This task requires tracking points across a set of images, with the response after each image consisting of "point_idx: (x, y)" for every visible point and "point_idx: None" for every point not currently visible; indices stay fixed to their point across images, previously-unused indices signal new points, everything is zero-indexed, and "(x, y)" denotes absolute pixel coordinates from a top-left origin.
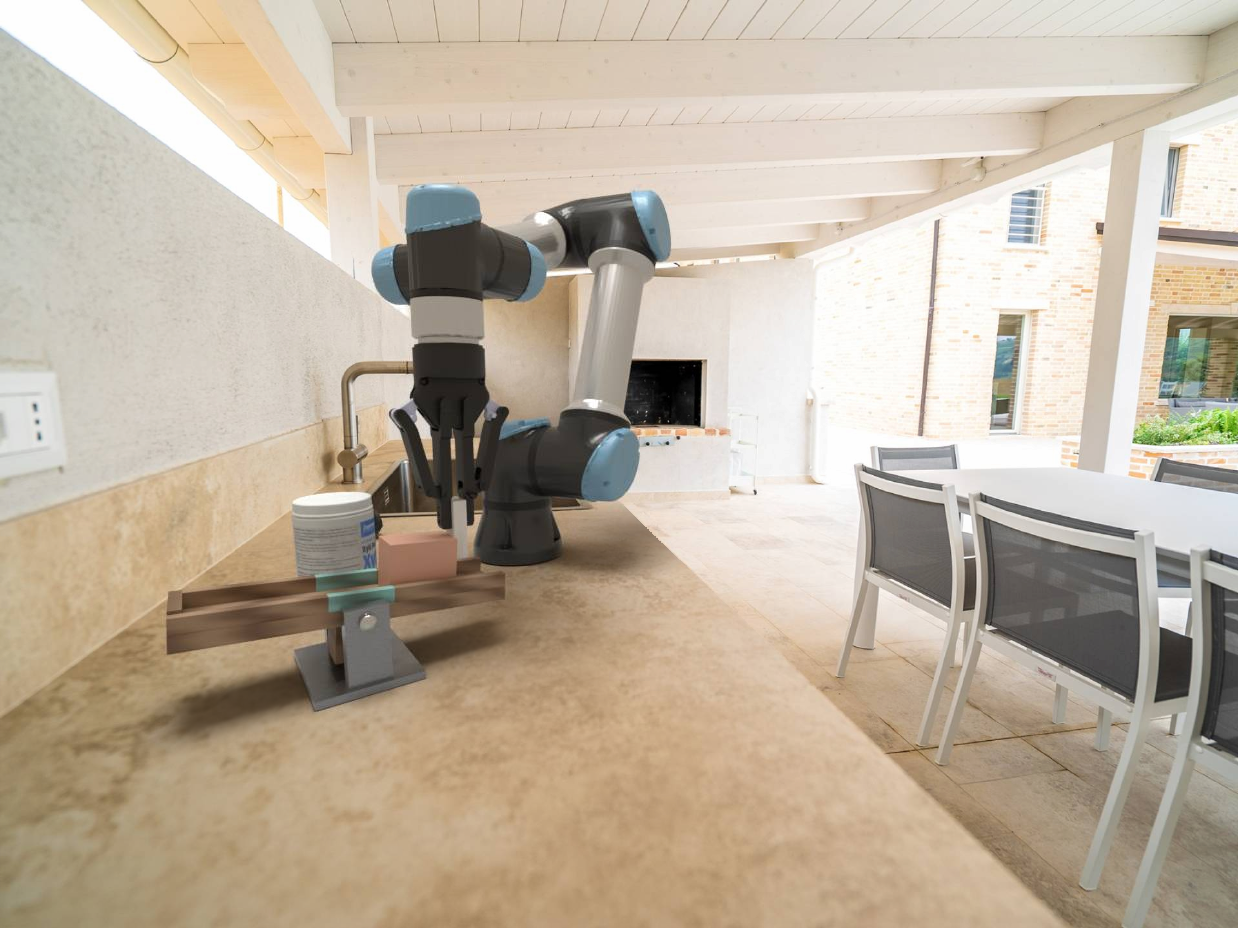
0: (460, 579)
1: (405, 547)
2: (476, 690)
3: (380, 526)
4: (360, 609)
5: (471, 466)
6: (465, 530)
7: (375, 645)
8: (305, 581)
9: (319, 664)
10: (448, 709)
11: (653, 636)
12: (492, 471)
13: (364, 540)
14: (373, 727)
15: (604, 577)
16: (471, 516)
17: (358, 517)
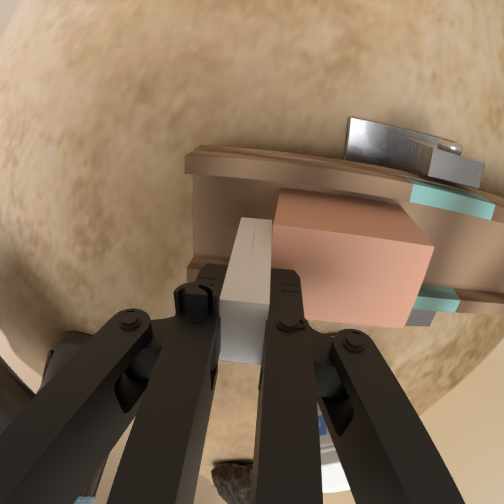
0: (285, 163)
1: (402, 238)
2: (313, 47)
3: (214, 470)
4: (467, 158)
5: (156, 399)
6: (238, 247)
7: (424, 142)
8: (468, 299)
9: None
10: (358, 36)
11: (63, 51)
12: (77, 353)
13: (319, 411)
14: (428, 69)
15: (31, 246)
16: (205, 277)
17: (329, 440)
